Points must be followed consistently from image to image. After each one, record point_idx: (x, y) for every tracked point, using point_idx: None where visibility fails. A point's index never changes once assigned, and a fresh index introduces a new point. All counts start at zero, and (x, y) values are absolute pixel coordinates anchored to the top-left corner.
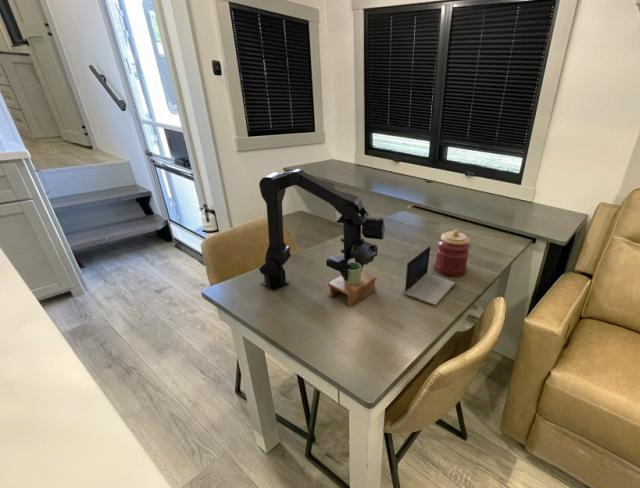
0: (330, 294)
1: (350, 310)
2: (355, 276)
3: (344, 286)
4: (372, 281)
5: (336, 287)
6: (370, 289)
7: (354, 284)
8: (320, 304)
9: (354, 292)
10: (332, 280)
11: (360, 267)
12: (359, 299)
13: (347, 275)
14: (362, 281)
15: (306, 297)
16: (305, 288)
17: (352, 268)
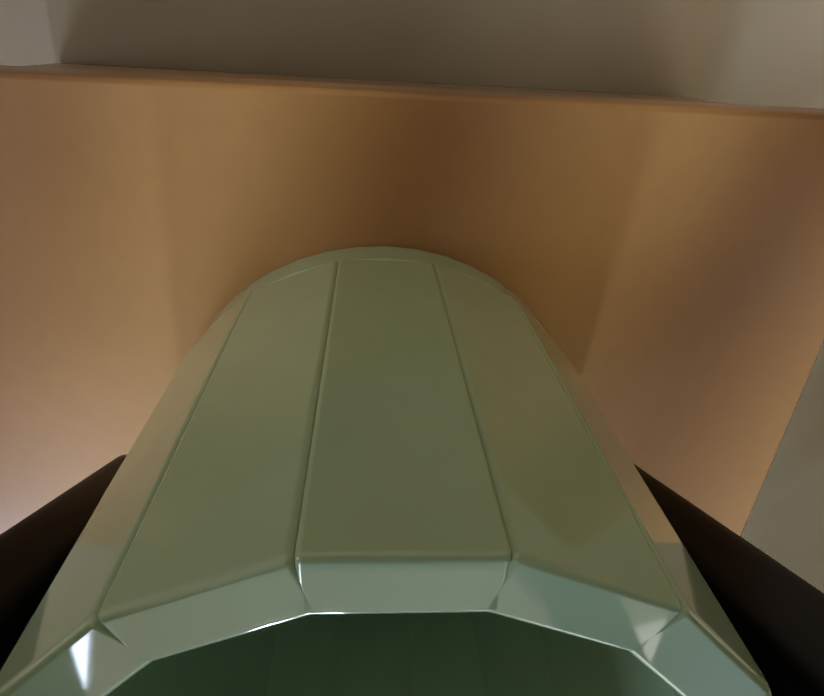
0: None
1: (776, 14)
2: (546, 390)
3: (687, 386)
4: (12, 68)
5: (767, 465)
6: (155, 73)
7: (507, 286)
8: (793, 415)
9: (709, 103)
10: None
11: (202, 619)
12: (470, 86)
13: (726, 567)
14: (275, 228)
15: None
16: None
17: (227, 687)
